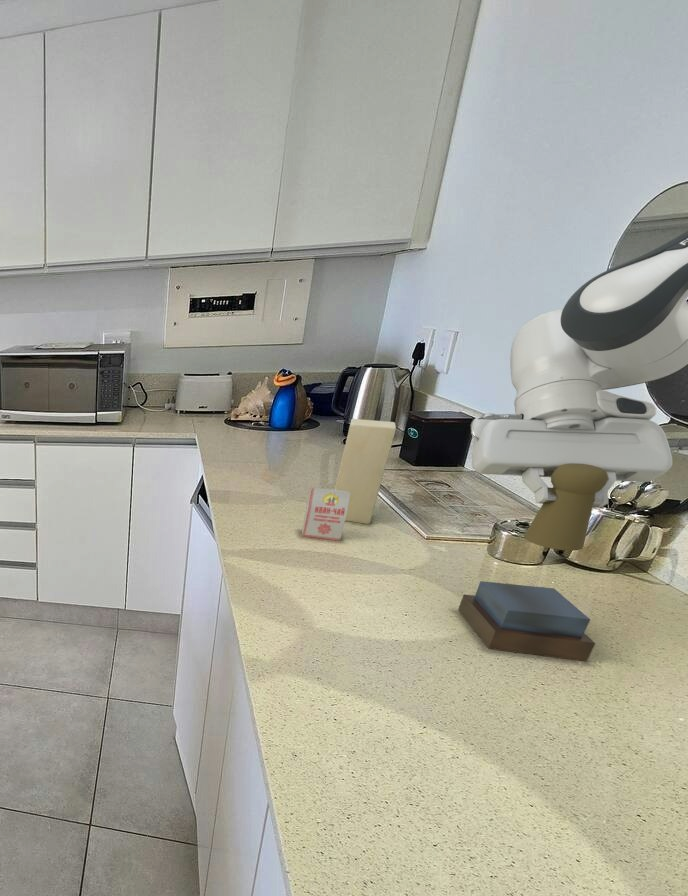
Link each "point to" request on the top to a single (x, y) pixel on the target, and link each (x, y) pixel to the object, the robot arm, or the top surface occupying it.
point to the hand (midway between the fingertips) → (572, 503)
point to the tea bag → (325, 514)
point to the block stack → (527, 620)
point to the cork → (567, 508)
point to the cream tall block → (364, 466)
